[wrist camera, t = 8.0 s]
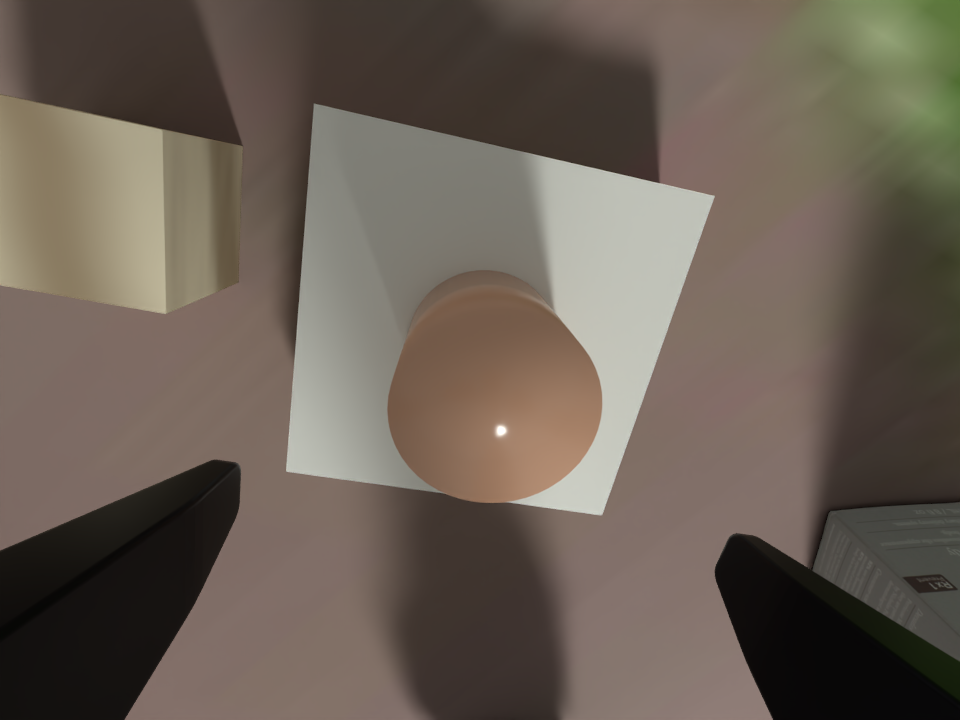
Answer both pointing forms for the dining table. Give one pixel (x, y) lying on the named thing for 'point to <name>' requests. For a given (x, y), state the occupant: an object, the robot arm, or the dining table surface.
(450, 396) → the peach rounded cylinder
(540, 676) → the dining table surface
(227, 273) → the birch cube
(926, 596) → the skincare box
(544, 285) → the white flat block
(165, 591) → the robot arm
